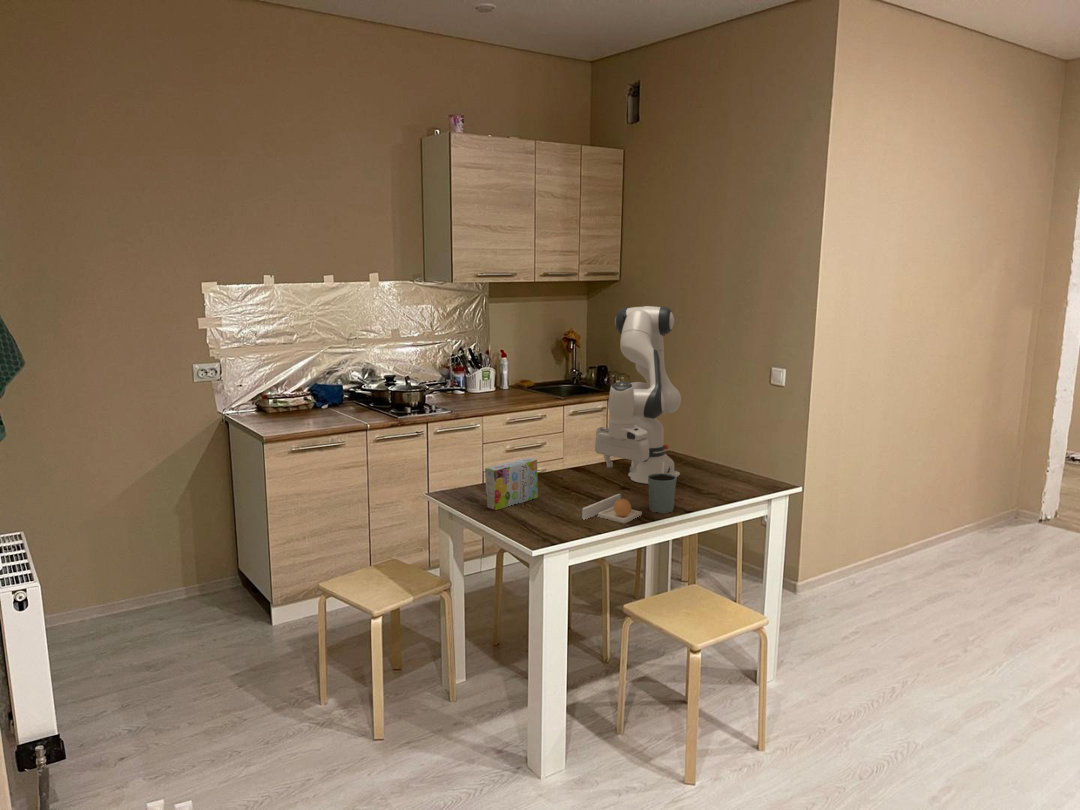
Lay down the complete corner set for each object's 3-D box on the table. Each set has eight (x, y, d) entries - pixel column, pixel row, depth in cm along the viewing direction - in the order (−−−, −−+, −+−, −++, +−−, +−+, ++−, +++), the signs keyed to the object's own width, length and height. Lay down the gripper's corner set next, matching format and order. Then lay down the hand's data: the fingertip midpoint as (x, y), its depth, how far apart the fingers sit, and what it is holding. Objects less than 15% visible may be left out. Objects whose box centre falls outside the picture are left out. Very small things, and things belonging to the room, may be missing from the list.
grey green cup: (650, 514, 282) (651, 481, 280) (644, 505, 292) (645, 473, 290) (678, 513, 283) (679, 480, 281) (671, 504, 293) (672, 472, 291)
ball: (608, 512, 279) (613, 497, 276) (617, 507, 283) (623, 493, 281) (621, 521, 276) (627, 507, 273) (631, 517, 280) (636, 503, 278)
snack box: (528, 495, 304) (527, 456, 302) (538, 498, 300) (538, 459, 298) (485, 507, 290) (484, 467, 287) (495, 511, 286) (495, 469, 283)
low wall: (618, 504, 293) (618, 493, 292) (620, 504, 292) (620, 494, 292) (582, 519, 276) (582, 508, 276) (584, 520, 276) (584, 509, 275)
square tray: (615, 509, 287) (615, 505, 287) (641, 515, 280) (641, 511, 280) (597, 517, 279) (597, 513, 279) (624, 523, 272) (624, 519, 272)
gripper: (591, 428, 278) (591, 466, 281) (641, 436, 265) (641, 476, 268) (601, 424, 283) (601, 462, 286) (651, 432, 270) (651, 472, 273)
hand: (621, 469), depth 277 cm, fingers open, 8 cm apart
